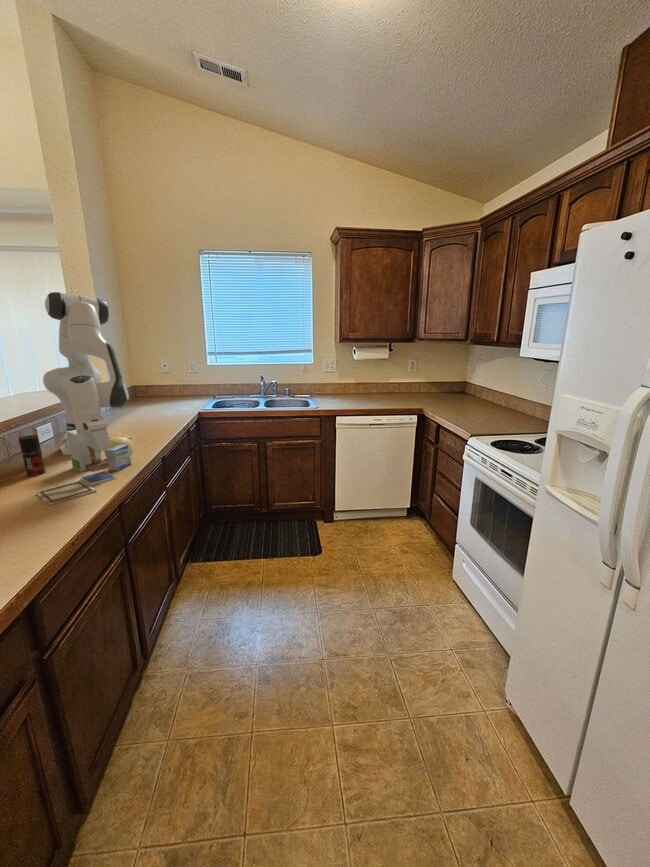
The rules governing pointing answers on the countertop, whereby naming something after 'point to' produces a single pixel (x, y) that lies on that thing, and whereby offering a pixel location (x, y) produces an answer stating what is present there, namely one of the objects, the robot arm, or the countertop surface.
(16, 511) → the countertop surface
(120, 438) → the sculpture
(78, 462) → the skincare box
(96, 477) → the ink pad
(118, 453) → the medicine box
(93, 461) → the stamp
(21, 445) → the deodorant
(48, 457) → the countertop surface
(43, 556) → the countertop surface
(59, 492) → the marked board
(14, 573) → the countertop surface
